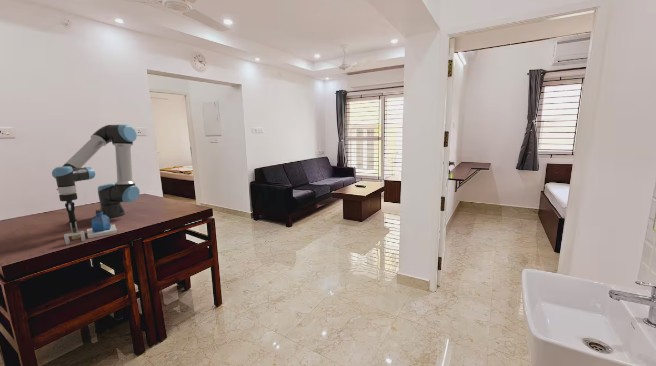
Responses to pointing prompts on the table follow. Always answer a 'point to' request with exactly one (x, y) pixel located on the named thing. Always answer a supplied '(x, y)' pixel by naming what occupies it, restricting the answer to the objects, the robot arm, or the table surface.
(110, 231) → the socket
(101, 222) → the perfume bottle
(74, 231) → the lock bar
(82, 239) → the keeper
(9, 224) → the table surface
